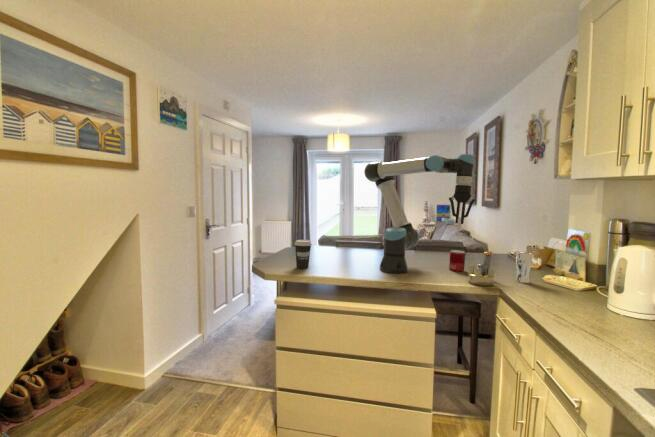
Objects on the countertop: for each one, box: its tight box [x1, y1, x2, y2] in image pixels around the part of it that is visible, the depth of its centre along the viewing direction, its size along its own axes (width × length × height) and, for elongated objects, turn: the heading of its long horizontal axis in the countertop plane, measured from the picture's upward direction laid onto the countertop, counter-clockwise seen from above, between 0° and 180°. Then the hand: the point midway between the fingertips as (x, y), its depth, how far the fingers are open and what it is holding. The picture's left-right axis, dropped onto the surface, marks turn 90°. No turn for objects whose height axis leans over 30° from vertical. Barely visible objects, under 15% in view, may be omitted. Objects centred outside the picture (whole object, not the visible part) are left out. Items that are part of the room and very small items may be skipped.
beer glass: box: [515, 250, 533, 284], centre depth 164 cm, size 7×7×15 cm
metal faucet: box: [467, 251, 495, 287], centre depth 161 cm, size 18×11×14 cm, turn 141°
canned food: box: [448, 249, 466, 272], centre depth 185 cm, size 8×8×11 cm
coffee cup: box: [294, 239, 312, 270], centre depth 180 cm, size 10×10×15 cm
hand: (458, 230), depth 170 cm, fingers closed
